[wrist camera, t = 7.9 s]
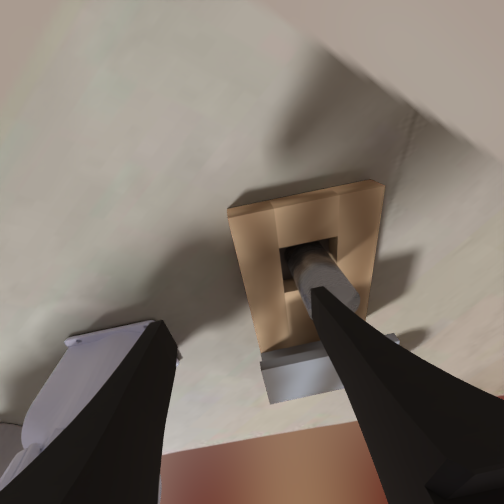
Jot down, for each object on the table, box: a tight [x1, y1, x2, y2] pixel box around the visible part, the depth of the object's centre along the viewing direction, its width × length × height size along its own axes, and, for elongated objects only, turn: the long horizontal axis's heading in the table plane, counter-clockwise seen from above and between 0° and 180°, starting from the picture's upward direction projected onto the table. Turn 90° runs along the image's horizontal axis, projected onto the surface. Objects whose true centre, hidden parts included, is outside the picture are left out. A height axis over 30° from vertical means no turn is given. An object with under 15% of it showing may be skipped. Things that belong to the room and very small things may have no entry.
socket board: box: [227, 179, 400, 404], centre depth 20 cm, size 12×18×7 cm, turn 10°
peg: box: [284, 240, 360, 319], centre depth 18 cm, size 4×4×7 cm
